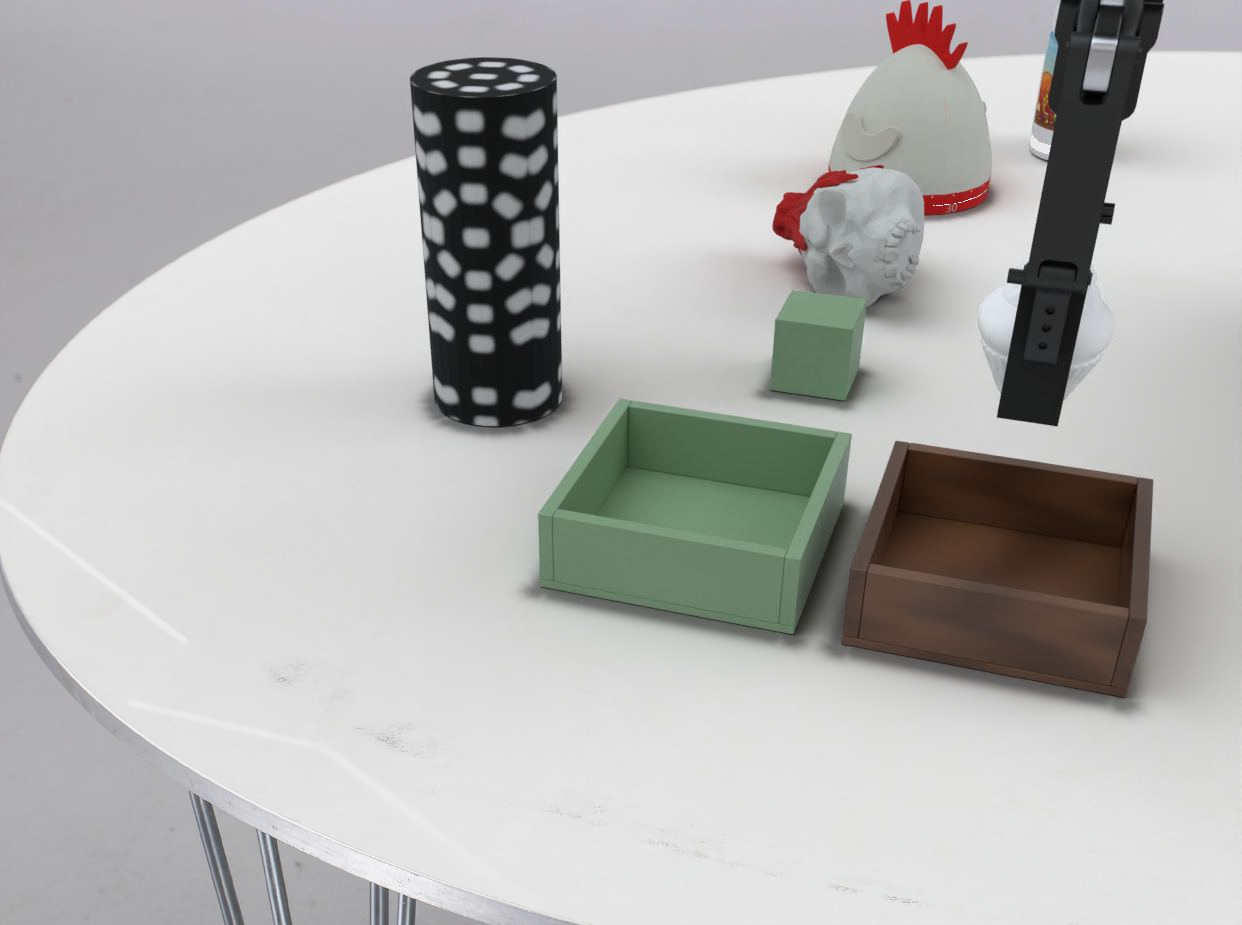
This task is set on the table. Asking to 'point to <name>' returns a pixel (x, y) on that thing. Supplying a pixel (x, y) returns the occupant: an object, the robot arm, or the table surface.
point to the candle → (856, 231)
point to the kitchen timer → (920, 116)
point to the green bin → (696, 514)
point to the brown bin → (1005, 567)
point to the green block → (817, 344)
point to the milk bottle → (1045, 94)
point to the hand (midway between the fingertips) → (1034, 385)
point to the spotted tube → (490, 236)
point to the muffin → (1000, 322)
